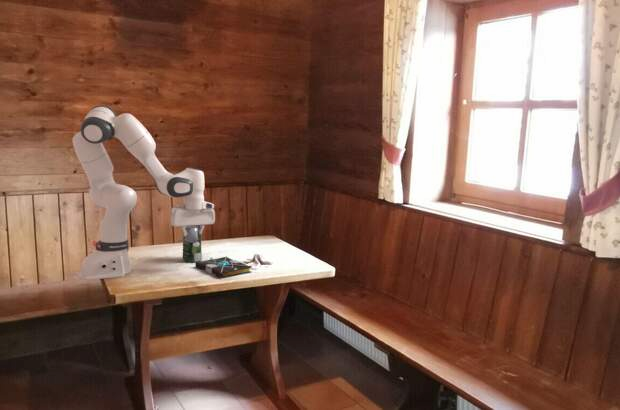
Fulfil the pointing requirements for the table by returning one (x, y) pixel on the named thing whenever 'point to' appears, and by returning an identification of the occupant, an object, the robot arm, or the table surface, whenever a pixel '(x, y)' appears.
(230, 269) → the book
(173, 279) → the table surface
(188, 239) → the grey short cylinder
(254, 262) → the cloth
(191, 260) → the coffee jar
